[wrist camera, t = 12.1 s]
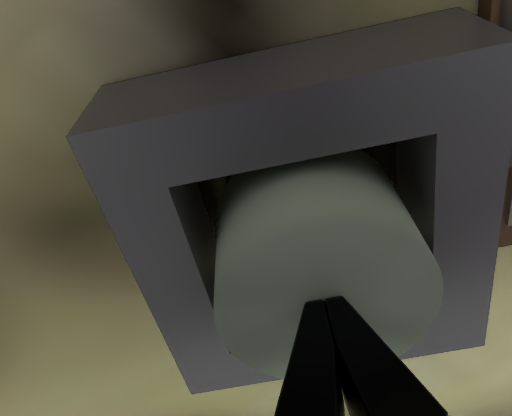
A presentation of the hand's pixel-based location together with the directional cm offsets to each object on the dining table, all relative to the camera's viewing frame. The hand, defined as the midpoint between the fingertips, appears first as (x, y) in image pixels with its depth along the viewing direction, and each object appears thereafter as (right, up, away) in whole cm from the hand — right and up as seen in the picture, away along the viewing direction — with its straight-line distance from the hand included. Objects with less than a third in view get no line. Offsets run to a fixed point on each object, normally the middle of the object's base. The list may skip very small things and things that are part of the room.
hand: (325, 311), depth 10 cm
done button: (0, +2, +3) cm, 3 cm away
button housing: (0, +3, +4) cm, 5 cm away
